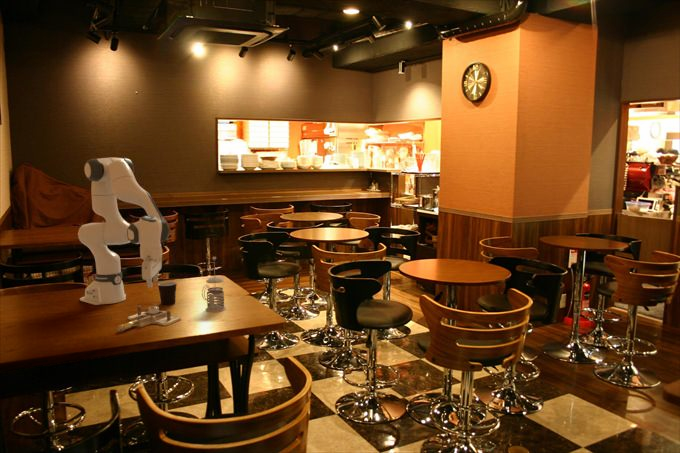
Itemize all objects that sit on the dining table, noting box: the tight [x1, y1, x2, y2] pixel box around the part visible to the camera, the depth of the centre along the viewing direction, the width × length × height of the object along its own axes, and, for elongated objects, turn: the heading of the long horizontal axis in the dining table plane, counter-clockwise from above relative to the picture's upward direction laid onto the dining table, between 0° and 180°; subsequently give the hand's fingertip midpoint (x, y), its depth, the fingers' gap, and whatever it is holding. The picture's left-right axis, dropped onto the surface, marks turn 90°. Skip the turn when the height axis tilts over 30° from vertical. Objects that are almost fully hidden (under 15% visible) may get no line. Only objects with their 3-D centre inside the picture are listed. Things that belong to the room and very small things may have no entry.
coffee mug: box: [157, 281, 178, 307], centre depth 271 cm, size 12×9×10 cm
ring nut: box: [147, 305, 160, 316], centre depth 244 cm, size 4×4×5 cm
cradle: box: [127, 305, 182, 328], centre depth 241 cm, size 22×15×5 cm
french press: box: [201, 256, 227, 313], centre depth 258 cm, size 10×12×25 cm
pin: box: [117, 320, 139, 333], centre depth 231 cm, size 9×3×3 cm, turn 154°
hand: (152, 284), depth 243 cm, fingers open, 8 cm apart
